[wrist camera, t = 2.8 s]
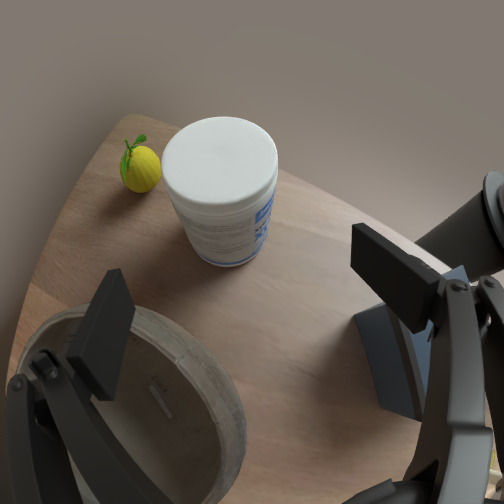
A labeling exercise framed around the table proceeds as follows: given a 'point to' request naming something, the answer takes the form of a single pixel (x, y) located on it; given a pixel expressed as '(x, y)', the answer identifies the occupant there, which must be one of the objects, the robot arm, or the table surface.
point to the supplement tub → (222, 187)
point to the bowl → (164, 407)
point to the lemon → (140, 167)
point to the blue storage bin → (399, 356)
